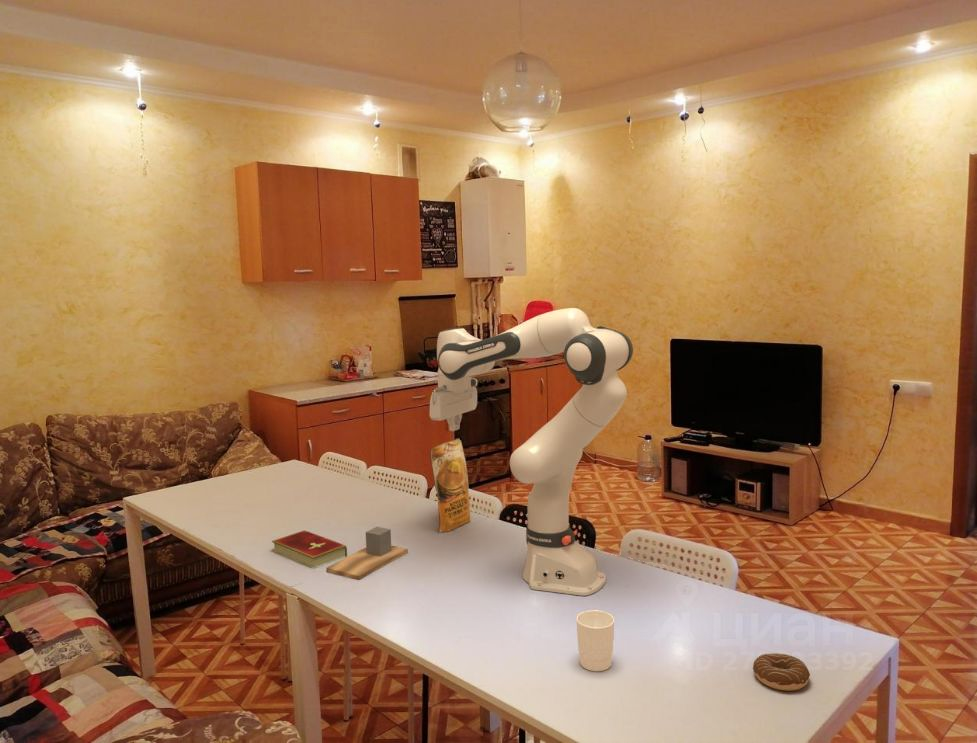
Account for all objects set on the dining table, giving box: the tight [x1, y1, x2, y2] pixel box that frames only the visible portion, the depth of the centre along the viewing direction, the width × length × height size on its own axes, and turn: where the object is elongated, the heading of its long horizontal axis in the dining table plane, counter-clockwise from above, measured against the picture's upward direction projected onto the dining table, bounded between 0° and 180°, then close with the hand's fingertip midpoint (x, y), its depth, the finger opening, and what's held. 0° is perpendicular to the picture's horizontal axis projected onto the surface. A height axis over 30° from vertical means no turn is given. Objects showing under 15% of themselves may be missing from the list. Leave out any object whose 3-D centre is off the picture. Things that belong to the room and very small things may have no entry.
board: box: [326, 544, 409, 581], centre depth 210 cm, size 12×22×1 cm, turn 149°
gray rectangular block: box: [365, 526, 392, 557], centre depth 214 cm, size 5×5×7 cm
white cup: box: [576, 609, 615, 672], centre depth 153 cm, size 8×8×10 cm
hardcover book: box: [271, 529, 348, 569], centre depth 217 cm, size 12×21×4 cm, turn 49°
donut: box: [752, 652, 811, 692], centre depth 145 cm, size 11×11×4 cm
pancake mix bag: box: [429, 437, 471, 534], centre depth 237 cm, size 7×19×28 cm, turn 144°
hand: (454, 430), depth 212 cm, fingers closed
